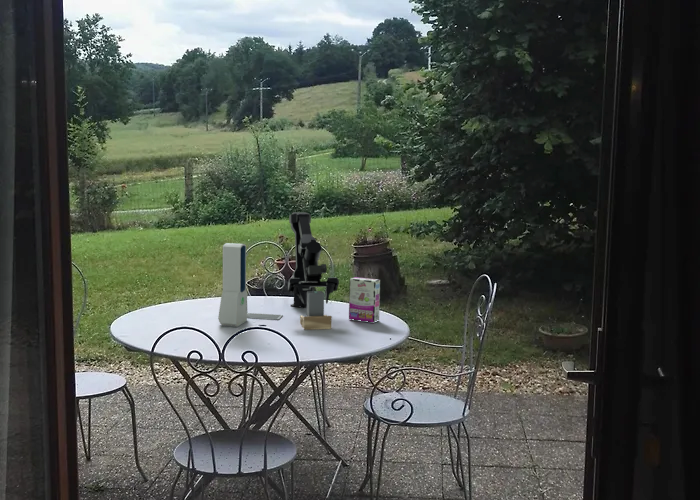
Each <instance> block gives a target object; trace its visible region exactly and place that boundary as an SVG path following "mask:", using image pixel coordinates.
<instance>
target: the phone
mask: <svg viewBox="0 0 700 500" xmlns="http://www.w3.org/2000/svg"><path fill="white" fill-rule="evenodd" d="M283 317H284V315H283V314H272V313H271V314H269V313H255V312H253V313H252V312H248V317H247V319H253V320H268V321H269V320H270V321H280V320H281V318H283Z"/></svg>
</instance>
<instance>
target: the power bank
mask: <svg viewBox="0 0 700 500" xmlns="http://www.w3.org/2000/svg"><path fill="white" fill-rule="evenodd" d="M324 313H325V292H323V290H312V291H307V307H306V316H324V315H325V314H324Z"/></svg>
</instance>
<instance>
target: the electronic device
mask: <svg viewBox="0 0 700 500" xmlns="http://www.w3.org/2000/svg"><path fill="white" fill-rule="evenodd" d="M248 313H249V312H248V290H247V245H246V244H245V243H232V242H230V243H229V242H227V243H224V244H223V245H222V293H221V296H220V305H219V309H218V316H217V317H218V322H219V324H220V326H222V327H233V328H238V327H239V326H241V325H243V324H244V323H246V322H247V321H248V318H247V317H248Z"/></svg>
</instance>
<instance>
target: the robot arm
mask: <svg viewBox="0 0 700 500" xmlns="http://www.w3.org/2000/svg"><path fill="white" fill-rule="evenodd" d="M311 216H312V215H311V214H310V213H308V212H297V211H296V212H292V213H291V214H289V216H288V217H289V218H288V220H289V221H288V222H289V224H290V229H291V231H292V232H293V233H294V247H295V248H294V249H295V269H294V271H293V272H292V275H291V276H292V277H290V278H289V279H288V282H287V291H288V293H293V303H292V304H290V307H295V308H307V291H313V288H322V287H323V288H325V290H324V299H325V304H326V305H327V304H328V303H329V298H330V294H331V293H333V292H337V290H338V288H339V284H340V280H339V278H338V277H337V276H336V277H330V276H329V277H327V280H322V278H323V274H326V273H328V272H327V271H328V269H327V264H326V263H321V264H319V262H318V261H319V259H320V257H321V252H322V249H323V248H322V245H321V244H320V243H319V242H318V241H317V239H316V238H315V237H314V236H313V234H312V229H311V225H310V224H311V223H312V219H311V218H312V217H311Z"/></svg>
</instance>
